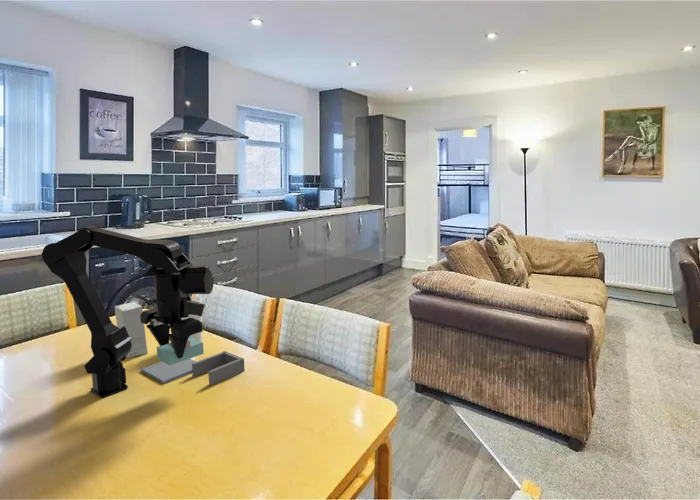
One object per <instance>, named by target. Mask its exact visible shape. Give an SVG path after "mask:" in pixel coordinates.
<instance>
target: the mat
mask: <svg viewBox="0 0 700 500" xmlns="http://www.w3.org/2000/svg"><path fill="white" fill-rule="evenodd" d="M195 362H197V361H196V360H194V359H192V358H190V359H187V360H184V361H181V362H178V363H175V364H172V365H168V364H166V363H164V362H162V361H161V360H160V361H158V362H156V363H153V364H149V365H148V366H147V365H146V366H143V367H141V368H140V372H141V373H143V374H145V375H147V376H149V377H150V378H152V379H154V380H155V381H157V382H160V383H161V384H163V385H165V384H168V383H170V382H172V381H175V380H177V379H180V378H183V377H185V376H187V375H190V374H192V363H195Z"/></svg>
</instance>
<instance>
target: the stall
mask: <svg viewBox="0 0 700 500" xmlns="http://www.w3.org/2000/svg"><path fill="white" fill-rule="evenodd" d="M244 371H245V358H243V357H241V356H238V355H235V354H233V353H230V352H228V351H225V350H223V351H222V352H219V353H216V354H213V355H210V356H209V357H208V356H207V357H205V358H203V359H200V360H198V361H196V362H195V363H192V373H191V375H192V376H193V377H194V378H195V377H197V376H199V375H202V374H206V373H207V374H208V384H209V385H210V386H212V385H215V384H217V383H220V382H221V381H224V380H227V379H229V378H230V377H233V376H235V375H238V374H240V373H242V372H244Z"/></svg>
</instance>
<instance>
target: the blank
mask: <svg viewBox="0 0 700 500" xmlns="http://www.w3.org/2000/svg"><path fill="white" fill-rule="evenodd" d="M156 354H157V355H156V356H157V357H156V358H157V359H158V360H159V361H160V362H161V361H162V362H164V363H166V364H168V365H172V364H175V363H178V362H181V361H184V360H187V359H192V358H196V357H199V356H201V355H204V342H203V341H202V342H200V341H198V340H196V339H194V338H192V337H189V338H188V341H187V344H186V347H185V351H184V354H183V357H182V358H180V359H178V358H177V356H176V354H175V351H174V349H173V346H172V344H171V342H169V344H166V345H162V346H160V345H159V346H157V347H156Z"/></svg>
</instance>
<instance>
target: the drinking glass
mask: <svg viewBox="0 0 700 500" xmlns="http://www.w3.org/2000/svg"><path fill="white" fill-rule="evenodd" d="M190 297H191V301H195V302H199V303H202V304H203V298H202V297H200V296H190ZM203 314H204V313H203ZM203 314H202V316H198V315H190V314H189V317H186V318H182V319H181V320H184V319H188V318H194V319H196V320H199V321H200V322H202V323H203V317H204V316H203ZM190 337H192V338H194V339H196V340H198V341H200V342H203V331H202V332H199V333H196V334H193V335H190Z"/></svg>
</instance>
